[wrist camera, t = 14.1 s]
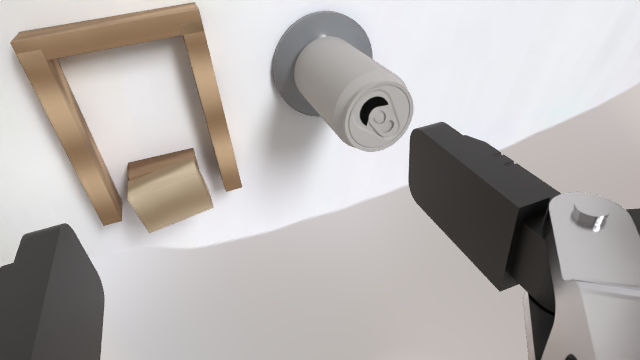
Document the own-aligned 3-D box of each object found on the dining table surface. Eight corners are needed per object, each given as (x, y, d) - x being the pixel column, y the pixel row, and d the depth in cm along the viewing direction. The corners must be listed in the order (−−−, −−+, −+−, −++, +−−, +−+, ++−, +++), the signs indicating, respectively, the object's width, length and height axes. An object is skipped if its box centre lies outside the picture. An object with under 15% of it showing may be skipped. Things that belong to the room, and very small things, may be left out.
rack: (19, 32, 32) (10, 42, 29) (194, 2, 35) (198, 9, 32) (105, 207, 41) (103, 225, 39) (236, 172, 44) (242, 187, 42)
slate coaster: (264, 21, 37) (266, 23, 37) (367, 2, 40) (371, 4, 39) (280, 122, 43) (283, 126, 42) (370, 100, 45) (373, 103, 45)
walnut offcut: (128, 161, 40) (128, 177, 38) (192, 146, 41) (196, 161, 39) (141, 195, 42) (142, 212, 40) (202, 180, 44) (206, 195, 41)
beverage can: (327, 18, 38) (390, 57, 29) (365, 66, 42) (432, 114, 33) (277, 70, 39) (323, 123, 30) (320, 112, 43) (372, 171, 34)
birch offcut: (127, 181, 38) (127, 199, 35) (192, 156, 39) (196, 173, 36) (148, 213, 40) (149, 233, 38) (208, 189, 41) (213, 207, 39)
